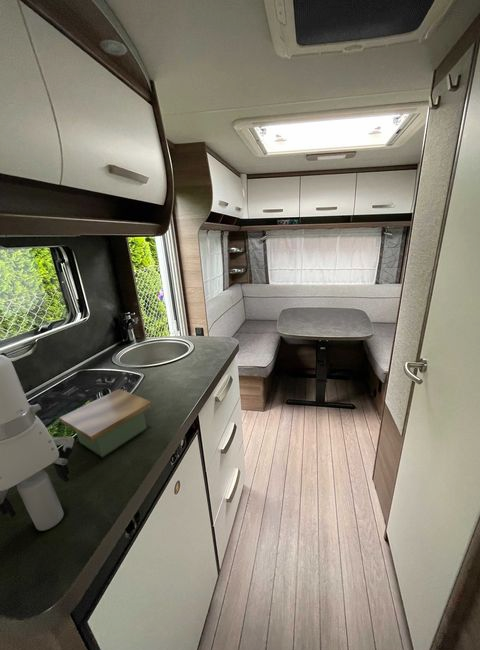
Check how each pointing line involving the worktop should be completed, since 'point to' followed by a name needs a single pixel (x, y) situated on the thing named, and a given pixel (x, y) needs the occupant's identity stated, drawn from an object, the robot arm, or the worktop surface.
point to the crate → (115, 436)
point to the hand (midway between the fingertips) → (39, 494)
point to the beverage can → (41, 500)
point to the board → (105, 414)
